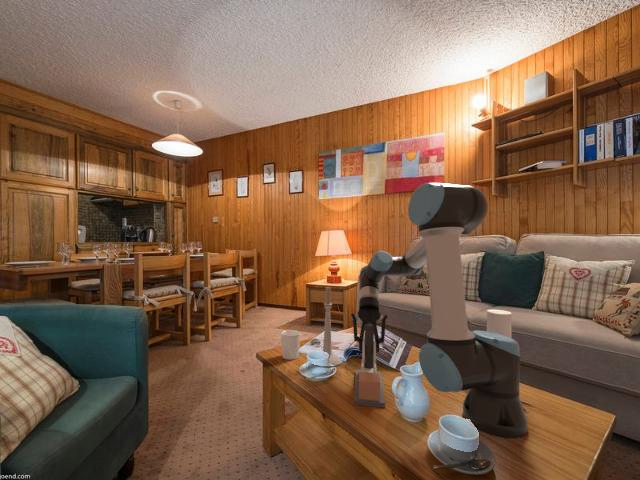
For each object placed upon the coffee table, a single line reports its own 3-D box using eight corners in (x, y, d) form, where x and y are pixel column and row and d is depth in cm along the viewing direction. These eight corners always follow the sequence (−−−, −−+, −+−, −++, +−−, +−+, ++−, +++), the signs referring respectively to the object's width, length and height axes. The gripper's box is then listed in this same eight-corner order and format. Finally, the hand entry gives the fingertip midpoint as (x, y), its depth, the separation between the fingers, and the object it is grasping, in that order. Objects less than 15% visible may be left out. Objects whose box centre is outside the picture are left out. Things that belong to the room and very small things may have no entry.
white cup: (281, 353, 128) (281, 329, 128) (299, 352, 129) (299, 329, 129) (280, 360, 121) (281, 335, 121) (300, 360, 121) (300, 335, 121)
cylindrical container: (504, 381, 104) (504, 309, 105) (515, 392, 97) (516, 314, 98) (482, 380, 105) (483, 309, 105) (492, 390, 98) (493, 313, 98)
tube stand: (355, 373, 110) (356, 355, 110) (381, 375, 109) (381, 357, 109) (353, 404, 89) (354, 382, 89) (385, 407, 87) (385, 384, 87)
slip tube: (364, 370, 107) (364, 322, 107) (372, 371, 107) (373, 323, 107) (364, 386, 95) (364, 332, 95) (373, 387, 95) (374, 333, 95)
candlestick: (324, 370, 112) (325, 289, 112) (305, 359, 123) (306, 285, 123) (349, 362, 120) (350, 286, 120) (329, 352, 130) (330, 283, 130)
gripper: (389, 307, 117) (393, 367, 101) (348, 305, 120) (345, 364, 103) (391, 296, 112) (395, 357, 95) (347, 294, 114) (344, 354, 98)
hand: (369, 361), depth 99 cm, fingers closed on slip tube, 3 cm apart
